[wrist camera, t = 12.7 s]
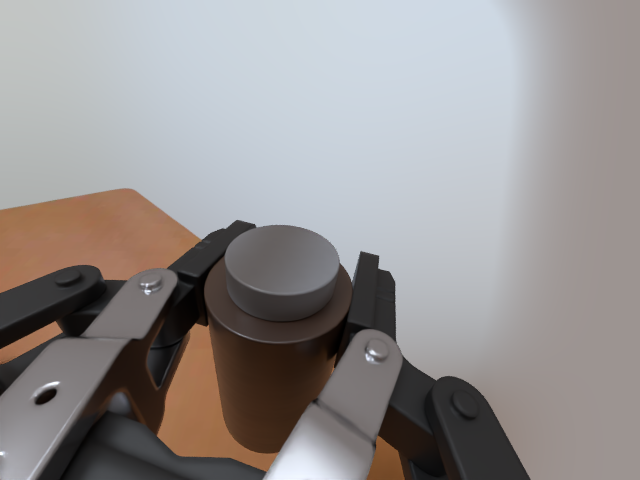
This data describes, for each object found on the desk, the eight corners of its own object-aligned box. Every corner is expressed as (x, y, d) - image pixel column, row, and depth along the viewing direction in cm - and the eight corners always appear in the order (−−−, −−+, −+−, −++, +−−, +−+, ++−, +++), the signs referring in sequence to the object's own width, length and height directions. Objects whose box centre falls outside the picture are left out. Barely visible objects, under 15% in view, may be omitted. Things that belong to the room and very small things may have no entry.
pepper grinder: (325, 357, 13) (359, 228, 9) (315, 463, 10) (364, 331, 5) (243, 342, 13) (237, 206, 9) (202, 442, 10) (158, 294, 5)
